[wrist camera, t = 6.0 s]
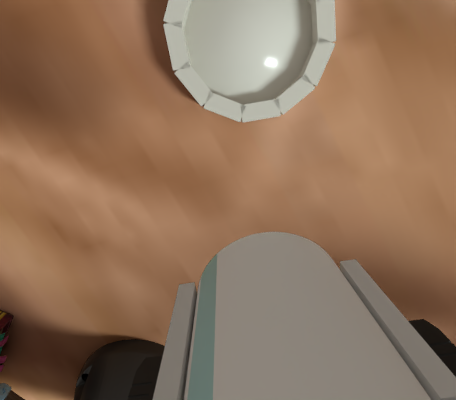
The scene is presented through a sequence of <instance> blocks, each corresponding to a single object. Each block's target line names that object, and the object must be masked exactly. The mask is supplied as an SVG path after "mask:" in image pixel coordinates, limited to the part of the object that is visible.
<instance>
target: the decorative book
mask: <svg viewBox="0 0 456 400" xmlns="http://www.w3.org/2000/svg"><path fill="white" fill-rule="evenodd" d="M12 318H13V315H10V314H7V313H4V312H2V311H0V353H1V350H2V348H3V347H2V346H3V345H4V344H5V343H6V342H7V339H8V337H9V335H8V336H7V337H6V334H7V332H8V329H9V326H10V324H11V321H12ZM5 337H6V338H5ZM6 358H7V356H1V357H0V363H5V360H6ZM3 367H4V365H0V372H1V371H2V369H3Z"/></svg>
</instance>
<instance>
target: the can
mask: <svg viewBox="0 0 456 400" xmlns="http://www.w3.org/2000/svg"><path fill="white" fill-rule="evenodd" d="M184 400H431V398H430V397H429V396H428V394H427V393H426V391H425V390H424V389H423V387H422V386H421V384H420V383H419V381H418V380H417V379H416V377H415V376H414V374H413V373H412V372H411V370H410V369H409V367H408V366H407V364H406V363H405V362H404V360H403V359H402V357H401V356H400V355H399V353H398V352H397V350H396V349H395V347H394V346H393V345H392V343H391V342H390V340H389V339H388V338H387V336H386V335H385V333H384V332H383V330H382V329H381V328H380V326H379V325H378V323H377V322H376V320H375V319H374V318H373V316H372V315H371V313H370V312H369V311H368V309H367V308H366V306H365V305H364V303H363V302H362V301H361V299H360V298H359V296H358V295H357V294H356V292H355V291H354V289H353V288H352V286H351V285H350V284H349V282H348V281H347V279H346V278H345V277H344V275H343V274H342V272H341V271H340V269H339V268H338V267H337V265H336V264H335V262H334V261H333V260H332V258H331V257H330V256H329V254H328V253H327V252H326V251H325V250H324V249H322V248H321V247H320V246H319V245H317V244H316V243H314V242H312V241H310V240H309V239H306V238H304V237H302V236H298V235H295V234H290V233H284V232H264V233H257V234H253V235H249V236H246V237H243V238H241V239H239V240H236V241H234V242H233V243H231V244H229V245H228V246H226V247H225V248H223V249H222V250H221V251H220V252H218V253H217V254H216V255H215V256H214V257H213V258H212V260H211V261H210V262H209V263H208V265H207V266H206V268H205V270H204V272H203V274H202V276H201V279H200V281H199V286H198V292H197V300H196V308H195V316H194V323H193V331H192V339H191V347H190V355H189V363H188V371H187V378H186V386H185V394H184Z"/></svg>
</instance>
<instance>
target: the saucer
mask: <svg viewBox="0 0 456 400" xmlns="http://www.w3.org/2000/svg"><path fill="white" fill-rule="evenodd" d="M163 21H164V23H165V24H163V26H164V30H165V35H166V40H167V45H168V49H169V54H170V59H171V63H172V68H173V71H174V72H175V73H174V74H175V75H176V76H177V77H178V78H179V80H180V81H181V82H182V83H183V85H184V86H185V87H186V88H187V90H188V91H189V92H190V93H191V94H192V96H193V97H194V98H195V99H196V101H197V102H198V103H199V104H200V105H201V106H203V105H204V108H205V109H207V110H210V111H212V112H215V113H217V114H220V115H223V116H225V117H228V118H230V119H233V120H235V121H238V122H240V121H241V122H248V121H254V120H260V119H265V118H271V117H277V116H281V114H282V115H283V114H285V113H286V112H287V111H288V110H289V109H291V108H292V107H293V106H294V105H295V104H297V103H298V102H299V101H300V100H302V99H303V98H304V97H305V96H306V95H308V94H309V93H310V92H311V91H312V90H314V89H315V87H314V86H317V85H318V82H319V80H320V78H321V76H322V73H323V71H324V69H325V66H326V64H327V62H328V60H329V57H330V55H331V53H332V51H333V48H334V46H335V44H334V43H333V42H335V41H336V28H335V0H169V1H168V4H167V8H166V12H165V16H164V20H163Z"/></svg>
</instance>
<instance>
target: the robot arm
mask: <svg viewBox="0 0 456 400" xmlns="http://www.w3.org/2000/svg"><path fill="white" fill-rule="evenodd" d="M340 271H341V272H342V274H343V275H344V277H345V278H346V279H347V281H348V282H349V284H350V285H351V286H352V288H353V289H354V291H355V292H356V294H357V295H358V296H359V298H360V299H361V301H362V302H363V303H364V305H365V306H366V308H367V309H368V311H369V312H370V313H371V315H372V316H373V318H374V319H375V320H376V322H377V323H378V325H379V326H380V328H381V329H382V330H383V332H384V333H385V335H386V336H387V338H388V339H389V340H390V342H391V343H392V345H393V346H394V347H395V349H396V350H397V352H398V353H399V355H400V356H401V357H402V359H403V360H404V362H405V363H406V364H407V366H408V367H409V369H410V370H411V372H412V373H413V374H414V376H415V377H416V379H417V380H418V381H419V383H420V384H421V386H422V387H423V389H424V390H425V391H426V393H427V394H428V396H429V397H430V398H431V400H456V346H455V345H454V344H452V343H451V341H450V340H449V339H448V338H447V337H446V336H445V335H444V334H443V333H442V332H441V331H440V330H439V329H438V328H437V327H435V326H433V325H432V324H430V323H429V322H427V321H425V320H424V319H421V320H413V321H408V320H407V319H406V318H405V317H404V316H403V314H402V313H401V312H400V311H399V310H398V309H397V307H396V306H395V305H394V304H393V303H392V302H391V300H390V299H389V298H388V297H387V296H386V294H385V293H384V292H383V291H382V290H381V289H380V287H379V286H378V285H377V284H376V283H375V282H374V280H373V279H372V278H371V277H370V276H369V274H368V273H367V272H366V271H365V270H364V269H363V267H362V266H361V265H360V264H359V263H358V261H357V260H356V259H354V260H347V261H340ZM196 300H197V291H196V286H195V282H194V283H187V284H180V285H179V288H178V292H177V296H176V301H175V305H174V309H173V314H172V318H171V322H170V327H169V331H168V335H167V340H166V344H165V346H163V345H161V344H158V343H155V342H151V341H146V340H136V339H131V340H121V341H116V342H113V343H110V344H107V345H105V346H103V347H101V348H99V349H98V350H96V351H95V352H94V353H93V354H92V355H91V356H90V357H89V358H88V360H87V361H86V363H85V365H84V367H83V369H82V371H81V373H80V375H79V377H78V380H77V383H76V389H75V395H74V400H184V394H185V386H186V378H187V371H188V363H189V355H190V347H191V339H192V331H193V323H194V316H195V308H196ZM0 400H25V399H23V398H22V397H20V396H19V395H17V394H16V393H15V392H13V391H12V390H11V387H10V386H8V384H5V383H0Z"/></svg>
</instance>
